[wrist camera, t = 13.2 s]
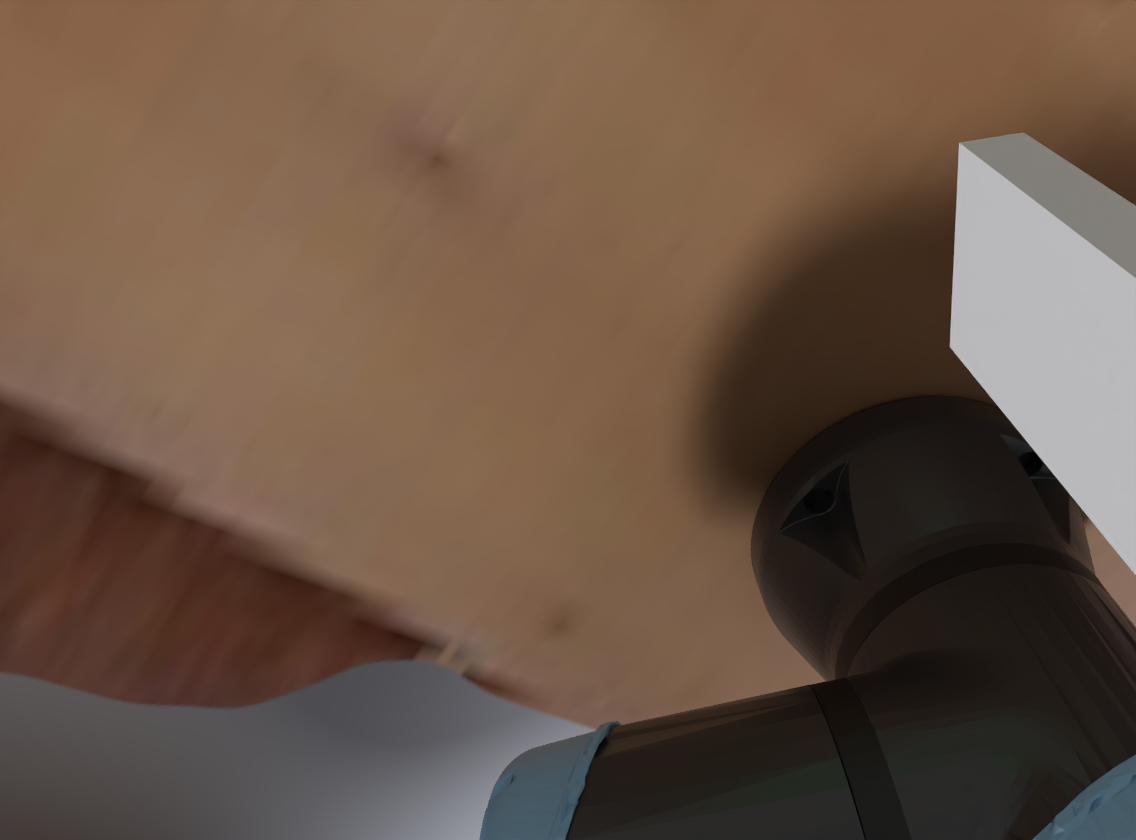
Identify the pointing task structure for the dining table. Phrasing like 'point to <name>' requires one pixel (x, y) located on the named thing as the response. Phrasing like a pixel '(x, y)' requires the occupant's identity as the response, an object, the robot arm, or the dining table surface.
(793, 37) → the dining table surface
